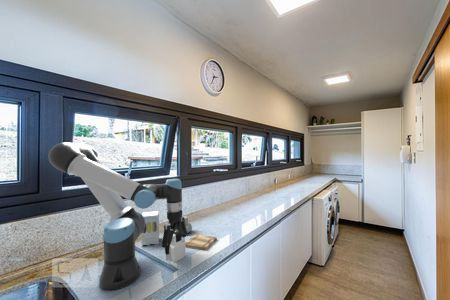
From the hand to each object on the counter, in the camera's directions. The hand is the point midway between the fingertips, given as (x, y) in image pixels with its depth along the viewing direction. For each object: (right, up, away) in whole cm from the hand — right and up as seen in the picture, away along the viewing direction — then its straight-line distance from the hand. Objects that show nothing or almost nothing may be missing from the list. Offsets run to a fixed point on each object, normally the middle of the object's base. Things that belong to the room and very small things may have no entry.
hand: (175, 254), depth 101 cm
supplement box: (-19, -2, +19) cm, 27 cm away
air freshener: (-2, -2, +31) cm, 31 cm away
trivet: (+10, -1, +15) cm, 18 cm away
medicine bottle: (0, -2, 0) cm, 2 cm away
